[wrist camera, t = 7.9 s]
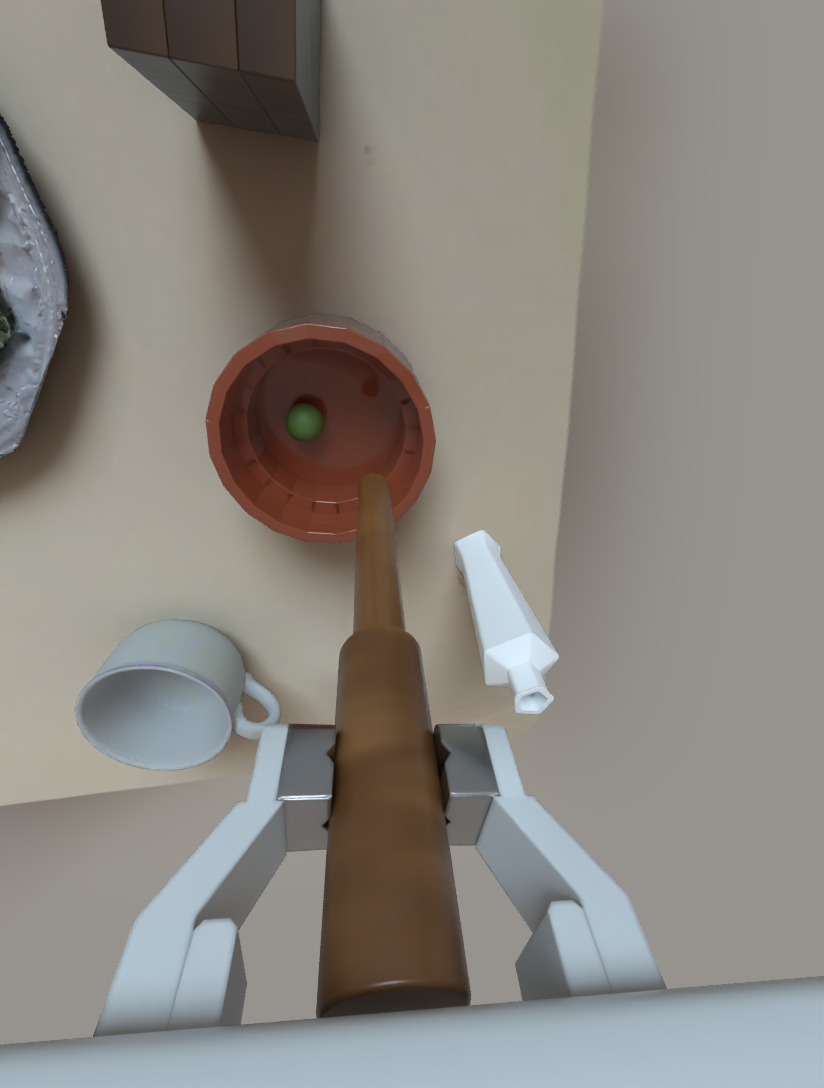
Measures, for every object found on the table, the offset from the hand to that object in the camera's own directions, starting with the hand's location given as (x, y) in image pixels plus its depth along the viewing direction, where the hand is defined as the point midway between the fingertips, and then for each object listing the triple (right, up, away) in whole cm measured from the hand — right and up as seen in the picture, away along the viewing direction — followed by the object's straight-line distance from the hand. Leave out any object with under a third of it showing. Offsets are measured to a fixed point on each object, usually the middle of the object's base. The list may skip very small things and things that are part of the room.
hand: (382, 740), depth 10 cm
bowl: (-5, +13, +20) cm, 25 cm away
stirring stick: (-1, +7, +12) cm, 14 cm away
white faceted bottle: (+6, +4, +27) cm, 28 cm away
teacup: (-17, -5, +30) cm, 35 cm away
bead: (-6, +12, +19) cm, 23 cm away
